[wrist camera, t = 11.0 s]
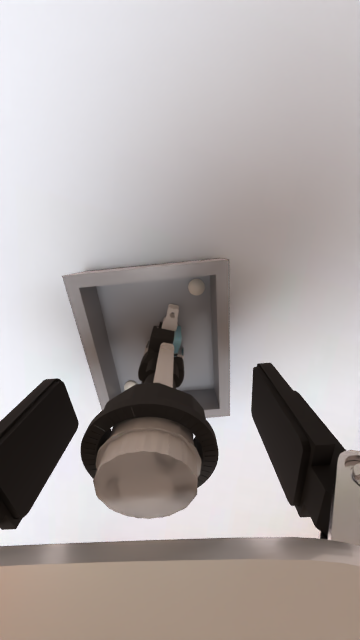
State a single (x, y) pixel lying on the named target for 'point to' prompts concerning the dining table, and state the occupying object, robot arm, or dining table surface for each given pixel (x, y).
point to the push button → (151, 436)
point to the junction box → (148, 311)
